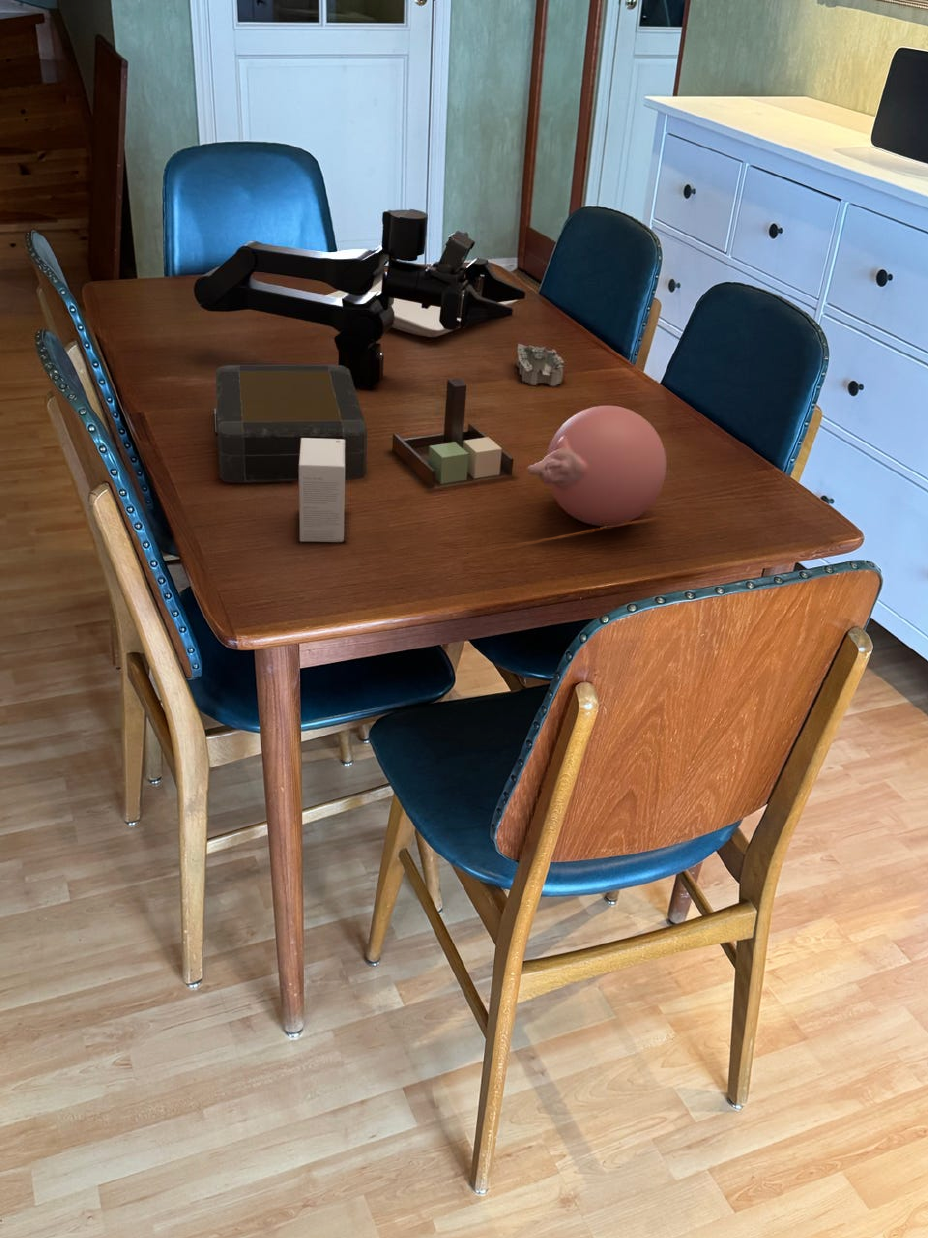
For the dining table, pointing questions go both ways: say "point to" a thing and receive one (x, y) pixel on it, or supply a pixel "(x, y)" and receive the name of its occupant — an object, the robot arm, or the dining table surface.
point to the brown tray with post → (445, 440)
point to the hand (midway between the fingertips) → (518, 303)
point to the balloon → (604, 466)
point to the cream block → (482, 457)
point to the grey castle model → (539, 365)
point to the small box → (321, 490)
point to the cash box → (284, 419)
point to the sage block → (448, 462)
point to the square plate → (414, 315)
